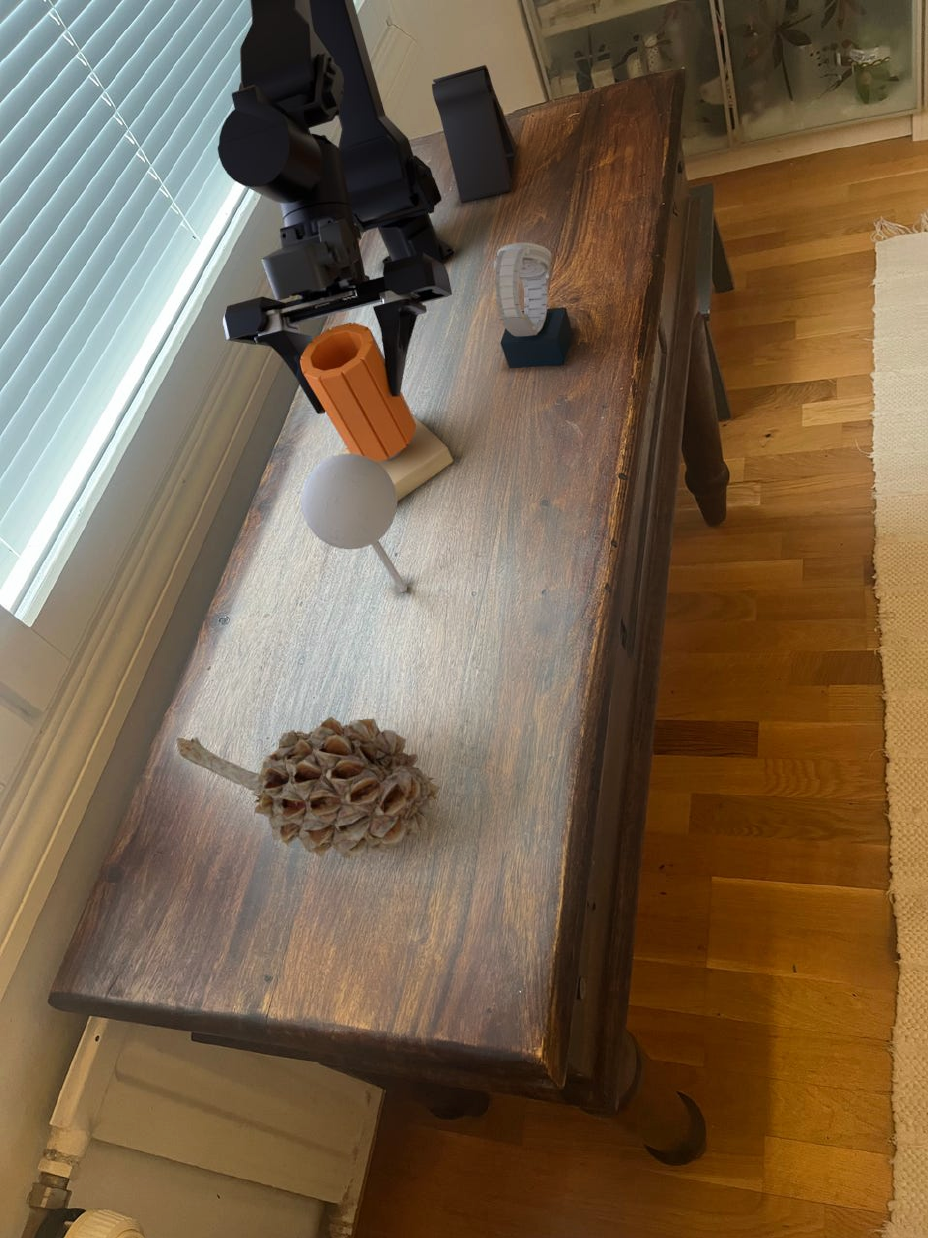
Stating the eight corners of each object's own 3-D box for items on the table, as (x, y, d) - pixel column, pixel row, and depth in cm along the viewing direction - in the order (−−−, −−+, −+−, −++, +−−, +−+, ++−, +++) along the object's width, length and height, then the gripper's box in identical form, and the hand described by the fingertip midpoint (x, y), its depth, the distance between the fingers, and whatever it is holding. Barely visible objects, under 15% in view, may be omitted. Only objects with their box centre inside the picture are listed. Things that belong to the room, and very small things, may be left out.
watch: (577, 319, 91) (550, 220, 82) (560, 377, 87) (530, 280, 78) (522, 323, 93) (491, 227, 84) (504, 381, 89) (469, 286, 80)
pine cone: (475, 764, 67) (429, 698, 59) (439, 895, 62) (383, 842, 55) (227, 732, 76) (158, 672, 68) (179, 845, 71) (99, 794, 63)
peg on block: (345, 468, 89) (310, 412, 83) (412, 421, 90) (383, 362, 84) (383, 512, 84) (349, 456, 78) (454, 461, 85) (426, 402, 79)
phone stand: (510, 192, 106) (480, 89, 97) (461, 204, 108) (426, 103, 99) (517, 148, 111) (488, 45, 102) (470, 160, 113) (437, 60, 104)
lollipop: (454, 558, 78) (389, 434, 67) (426, 628, 75) (353, 511, 63) (382, 552, 81) (307, 432, 70) (352, 619, 78) (269, 505, 66)
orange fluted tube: (337, 438, 86) (287, 356, 78) (395, 398, 86) (351, 312, 78) (368, 473, 82) (319, 390, 74) (428, 430, 82) (386, 343, 74)
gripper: (167, 225, 72) (215, 428, 74) (391, 157, 66) (435, 377, 69) (235, 250, 82) (275, 427, 85) (434, 193, 77) (470, 382, 80)
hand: (357, 405), depth 79 cm, fingers closed on orange fluted tube, 6 cm apart
